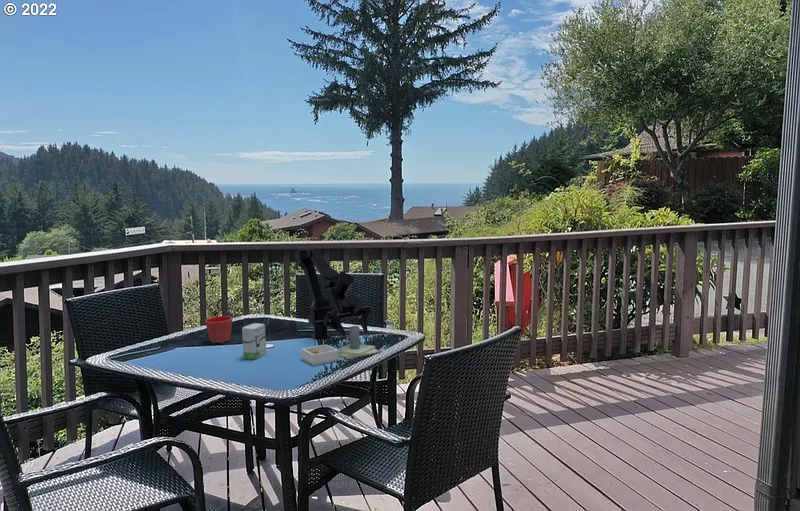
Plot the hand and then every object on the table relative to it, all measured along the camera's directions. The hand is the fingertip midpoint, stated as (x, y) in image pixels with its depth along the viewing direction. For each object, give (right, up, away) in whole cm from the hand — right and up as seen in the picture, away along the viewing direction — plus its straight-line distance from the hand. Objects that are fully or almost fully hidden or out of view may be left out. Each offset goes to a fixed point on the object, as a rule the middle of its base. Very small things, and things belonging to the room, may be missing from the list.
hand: (356, 334), depth 219 cm
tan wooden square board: (0, -7, +2) cm, 7 cm away
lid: (-1, -6, +2) cm, 7 cm away
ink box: (-38, -9, 0) cm, 39 cm away
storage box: (-12, -8, -7) cm, 17 cm away
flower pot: (-58, -6, +23) cm, 62 cm away
